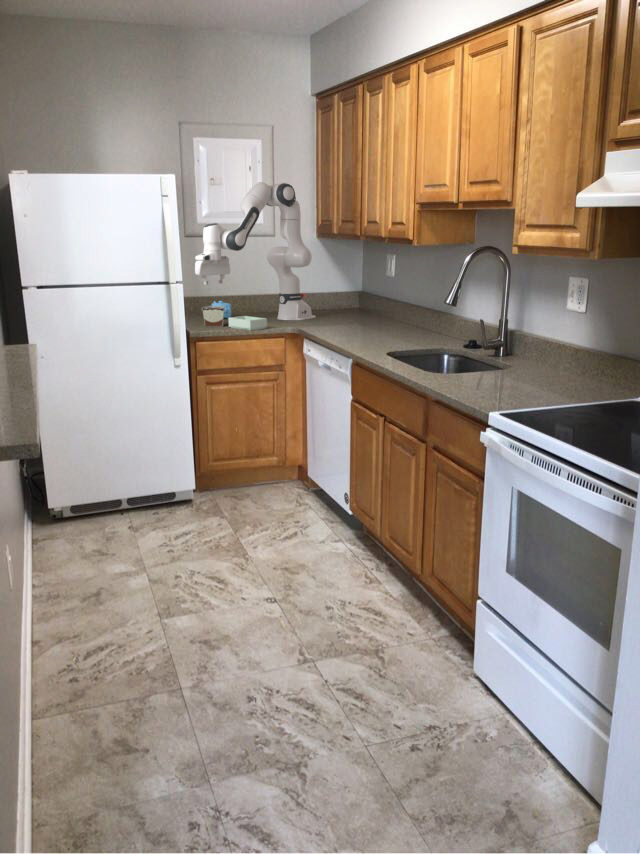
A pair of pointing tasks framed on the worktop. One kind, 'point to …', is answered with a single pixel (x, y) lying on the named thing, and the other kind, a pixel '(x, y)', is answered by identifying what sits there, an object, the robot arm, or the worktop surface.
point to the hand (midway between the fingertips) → (213, 284)
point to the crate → (248, 323)
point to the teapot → (227, 308)
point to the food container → (213, 315)
